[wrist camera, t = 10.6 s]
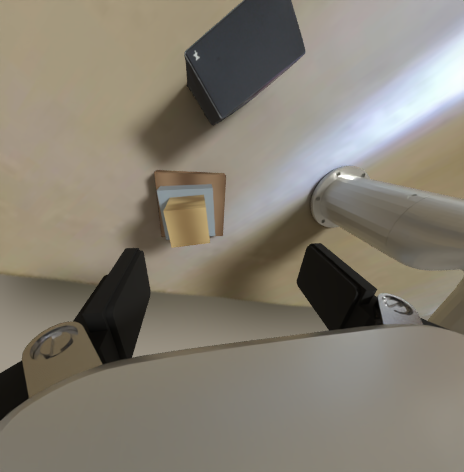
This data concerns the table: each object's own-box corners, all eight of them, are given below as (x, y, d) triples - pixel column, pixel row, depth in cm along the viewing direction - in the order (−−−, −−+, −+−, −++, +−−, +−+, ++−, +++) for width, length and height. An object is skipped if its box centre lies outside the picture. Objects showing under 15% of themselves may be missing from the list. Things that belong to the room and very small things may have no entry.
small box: (213, 129, 28) (221, 123, 19) (185, 83, 25) (179, 50, 16) (270, 83, 27) (309, 53, 18) (248, 29, 24) (281, -41, 15)
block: (203, 194, 27) (205, 207, 22) (207, 224, 30) (210, 242, 24) (169, 197, 26) (163, 211, 21) (176, 228, 29) (171, 247, 24)
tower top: (211, 184, 30) (212, 188, 27) (213, 228, 33) (215, 235, 31) (160, 186, 28) (156, 190, 26) (168, 231, 32) (166, 239, 29)
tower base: (223, 172, 32) (226, 175, 29) (220, 229, 37) (222, 235, 34) (157, 169, 30) (154, 172, 27) (164, 229, 35) (161, 236, 32)
